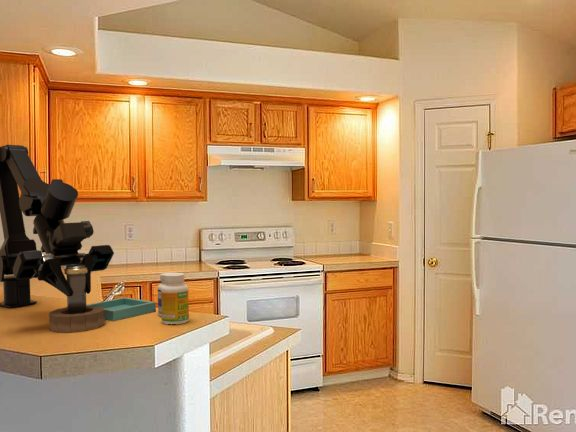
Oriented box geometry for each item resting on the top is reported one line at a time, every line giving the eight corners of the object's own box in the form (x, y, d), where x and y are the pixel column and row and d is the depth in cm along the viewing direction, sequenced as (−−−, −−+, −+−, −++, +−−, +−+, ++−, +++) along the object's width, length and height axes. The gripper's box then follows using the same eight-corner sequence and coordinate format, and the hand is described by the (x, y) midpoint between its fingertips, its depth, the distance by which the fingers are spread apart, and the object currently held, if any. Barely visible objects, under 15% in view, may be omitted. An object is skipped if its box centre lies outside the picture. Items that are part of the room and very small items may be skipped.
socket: (39, 327, 103) (39, 312, 103) (85, 317, 111) (85, 303, 111) (68, 335, 97) (67, 318, 97) (114, 324, 105) (114, 309, 105)
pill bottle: (186, 312, 115) (185, 271, 115) (179, 317, 110) (178, 275, 110) (162, 311, 116) (161, 271, 115) (154, 317, 111) (153, 275, 110)
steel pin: (61, 326, 104) (59, 266, 103) (81, 322, 107) (79, 263, 106) (73, 329, 101) (71, 267, 101) (93, 325, 104) (91, 265, 104)
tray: (82, 314, 114) (82, 305, 114) (125, 305, 123) (125, 297, 123) (113, 320, 108) (113, 311, 108) (155, 311, 117) (155, 302, 116)
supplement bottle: (180, 325, 103) (179, 276, 102) (156, 324, 104) (155, 275, 104) (193, 319, 108) (192, 272, 107) (170, 318, 110) (169, 271, 109)
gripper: (16, 209, 99) (41, 272, 92) (108, 207, 113) (136, 262, 105) (3, 248, 105) (25, 311, 98) (92, 242, 118) (118, 296, 111)
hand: (79, 293), depth 103 cm, fingers closed on steel pin, 3 cm apart
